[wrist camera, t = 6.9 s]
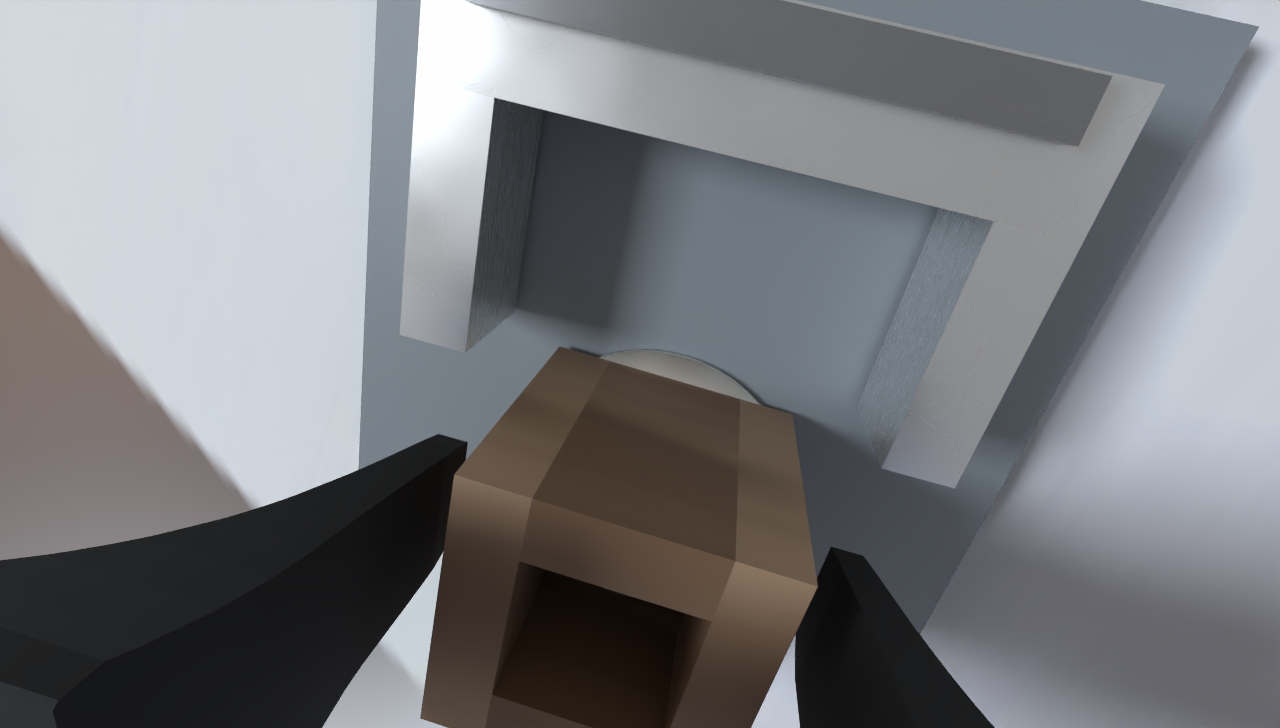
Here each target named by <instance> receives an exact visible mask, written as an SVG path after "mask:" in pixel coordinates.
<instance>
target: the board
mask: <svg viewBox="0 0 1280 728" xmlns="http://www.w3.org/2000/svg"><path fill="white" fill-rule="evenodd" d="M798 1H803V2H807V3H811V4H816V5H820V6H825V7H829V8H833V9H838V10H842V11H846V12H851V13H855V14H860V15H864V16H868V17H873V18H877V19H881V20H886V21H890V22H894V23H899V24H903V25H908V26H912V27H916V28H921V29H925V30H929V31H934V32H938V33H942V34H947V35H951V36H956V37H960V38H964V39H969V40H973V41H977V42H982V43H986V44H991V45H995V46H999V47H1004V48H1008V49H1012V50H1017V51H1021V52H1025V53H1030V54H1034V55H1039V56H1043V57H1047V58H1052V59H1056V60H1060V61H1065V62H1069V63H1073V64H1078V65H1082V66H1087V67H1091V68H1095V69H1100V70H1104V71H1108V72H1113V73H1117V74H1122V75H1126V76H1130V77H1135V78H1139V79H1143V80H1148V81H1152V82H1156V83H1161V84H1165V86H1164V88H1163V90H1162V92H1161V94H1160V96H1159V98H1158V100H1157V102H1156V104H1155V105H1154V107H1153V109H1152V111H1151V113H1150V115H1149V117H1148V119H1147V121H1146V123H1145V125H1144V127H1143V128H1142V130H1141V132H1140V134H1139V136H1138V138H1137V140H1136V142H1135V144H1134V146H1133V148H1132V150H1131V151H1130V153H1129V155H1128V157H1127V159H1126V161H1125V163H1124V165H1123V167H1122V169H1121V171H1120V173H1119V174H1118V176H1117V178H1116V180H1115V182H1114V184H1113V186H1112V188H1111V190H1110V192H1109V194H1108V196H1107V198H1106V199H1105V201H1104V203H1103V205H1102V207H1101V209H1100V211H1099V213H1098V215H1097V217H1096V219H1095V221H1094V222H1093V224H1092V226H1091V228H1090V230H1089V232H1088V234H1087V236H1086V238H1085V240H1084V242H1083V244H1082V245H1081V247H1080V249H1079V251H1078V253H1077V255H1076V257H1075V259H1074V261H1073V263H1072V265H1071V267H1070V268H1069V270H1068V272H1067V274H1066V276H1065V278H1064V280H1063V282H1062V284H1061V286H1060V288H1059V290H1058V291H1057V293H1056V295H1055V297H1054V299H1053V301H1052V303H1051V305H1050V307H1049V309H1048V311H1047V313H1046V314H1045V316H1044V318H1043V320H1042V322H1041V324H1040V326H1039V328H1038V330H1037V332H1036V334H1035V336H1034V338H1033V339H1032V341H1031V343H1030V345H1029V347H1028V349H1027V351H1026V353H1025V355H1024V357H1023V359H1022V361H1021V362H1020V364H1019V366H1018V368H1017V370H1016V372H1015V374H1014V376H1013V378H1012V380H1011V382H1010V384H1009V385H1008V387H1007V389H1006V391H1005V393H1004V395H1003V397H1002V399H1001V401H1000V403H999V405H998V407H997V408H996V410H995V412H994V414H993V416H992V418H991V420H990V422H989V424H988V426H987V428H986V430H985V431H984V433H983V435H982V437H981V439H980V441H979V443H978V445H977V447H976V449H975V451H974V453H973V455H972V456H971V458H970V460H969V462H968V464H967V466H966V468H965V470H964V472H963V474H962V476H961V478H960V479H959V481H958V483H957V485H956V487H955V489H954V488H951V487H947V486H943V485H940V484H936V483H933V482H929V481H925V480H922V479H918V478H915V477H911V476H907V475H904V474H900V473H896V472H893V471H889V470H886V469H882V468H881V466H880V463H879V460H878V458H877V455H876V452H875V450H874V447H873V444H872V442H871V439H870V437H869V434H868V431H867V429H866V426H865V423H864V421H863V418H862V415H861V413H860V410H859V407H858V403H859V400H860V398H861V395H862V393H863V391H864V388H865V386H866V383H867V381H868V379H869V376H870V374H871V371H872V369H873V367H874V364H875V362H876V359H877V357H878V354H879V352H880V350H881V347H882V345H883V342H884V340H885V338H886V335H887V333H888V330H889V328H890V326H891V323H892V321H893V318H894V316H895V314H896V311H897V309H898V306H899V304H900V301H901V299H902V297H903V294H904V292H905V289H906V287H907V285H908V282H909V280H910V277H911V275H912V273H913V270H914V268H915V265H916V263H917V260H918V258H919V256H920V253H921V251H922V248H923V246H924V244H925V241H926V239H927V236H928V234H929V232H930V229H931V227H932V224H933V222H934V220H935V217H936V215H937V212H938V210H939V208H938V207H934V206H930V205H926V204H922V203H918V202H914V201H910V200H906V199H902V198H898V197H894V196H890V195H886V194H882V193H878V192H874V191H869V190H865V189H861V188H857V187H853V186H849V185H845V184H841V183H837V182H833V181H829V180H825V179H821V178H817V177H813V176H809V175H805V174H801V173H797V172H793V171H789V170H785V169H781V168H777V167H773V166H769V165H764V164H760V163H756V162H752V161H748V160H744V159H740V158H736V157H732V156H728V155H724V154H720V153H716V152H712V151H708V150H704V149H700V148H696V147H692V146H688V145H684V144H680V143H676V142H672V141H668V140H664V139H660V138H655V137H651V136H647V135H643V134H639V133H635V132H631V131H627V130H623V129H619V128H615V127H611V126H607V125H603V124H599V123H595V122H591V121H587V120H583V119H579V118H575V117H571V116H567V115H563V114H559V113H555V112H550V111H546V110H544V112H543V119H542V126H541V133H540V140H539V147H538V154H537V161H536V168H535V174H534V181H533V188H532V195H531V202H530V209H529V216H528V223H527V229H526V236H525V243H524V250H523V257H522V264H521V271H520V278H519V285H518V291H517V298H516V305H515V312H514V313H513V314H511V315H510V316H509V317H508V318H507V319H505V320H504V321H503V322H502V323H501V324H499V325H498V326H497V327H496V328H495V329H494V330H492V331H491V332H490V333H489V334H488V335H486V336H485V337H484V338H483V339H482V340H480V341H479V342H478V343H477V344H476V345H474V346H473V347H472V348H471V349H470V350H468V351H467V352H466V353H463V352H460V351H456V350H453V349H449V348H445V347H442V346H438V345H435V344H431V343H427V342H424V341H420V340H417V339H413V338H409V337H406V336H402V335H400V320H401V305H402V289H403V274H404V259H405V243H406V228H407V213H408V197H409V182H410V166H411V151H412V136H413V120H414V105H415V90H416V74H417V59H418V43H419V28H420V13H421V0H377V18H376V43H375V68H374V94H373V119H372V144H371V170H370V195H369V220H368V246H367V271H366V296H365V321H364V347H363V372H362V397H361V423H360V448H359V469H362V468H364V467H366V466H368V465H371V464H373V463H375V462H377V461H379V460H382V459H384V458H386V457H388V456H391V455H393V454H395V453H397V452H399V451H401V450H403V449H406V448H408V447H410V446H412V445H414V444H416V443H419V442H421V441H423V440H425V439H427V438H430V437H432V436H435V435H437V434H441V435H445V436H448V437H451V438H455V439H458V440H462V441H465V442H468V445H467V453H466V460H467V458H468V457H469V456H470V455H471V454H472V452H473V451H474V450H475V449H476V447H477V446H478V445H479V444H480V443H481V441H482V440H483V439H484V438H485V437H486V435H487V434H488V433H489V432H490V430H491V429H492V428H493V427H494V426H495V424H496V423H497V422H498V421H499V420H500V418H501V417H502V416H503V415H504V413H505V412H506V411H507V410H508V409H509V407H510V406H511V405H512V404H513V402H514V401H515V400H516V399H517V398H518V396H519V395H520V394H521V393H522V392H523V390H524V389H525V388H526V387H527V385H528V384H529V383H530V382H531V381H532V379H533V378H534V377H535V376H536V375H537V373H538V372H539V371H540V370H541V368H542V367H543V366H544V365H545V364H546V362H547V361H548V360H549V359H550V357H551V356H552V355H553V354H554V353H555V351H556V350H557V349H558V348H559V347H564V348H567V349H571V350H574V351H577V352H581V353H584V354H588V355H591V356H594V357H597V356H601V355H604V354H607V353H610V352H616V351H622V350H628V349H656V350H666V351H671V352H676V353H681V354H685V355H688V356H691V357H694V358H697V359H700V360H703V361H705V362H707V363H709V364H711V365H713V366H715V367H717V368H719V369H721V370H722V371H724V372H725V373H727V374H729V375H730V376H732V377H733V378H735V379H736V380H737V381H738V382H740V383H741V384H742V385H743V386H744V387H746V388H747V389H748V390H749V391H750V392H751V393H752V394H753V395H754V396H755V397H756V398H757V400H758V401H759V402H760V403H761V404H762V405H763V406H765V407H769V408H772V409H776V410H779V411H783V412H786V413H789V414H792V415H793V421H794V428H795V435H796V442H797V449H798V455H799V462H800V469H801V476H802V483H803V489H804V496H805V503H806V510H807V517H808V523H809V530H810V537H811V544H812V551H813V557H814V564H815V571H816V578H817V577H818V575H819V572H820V570H821V568H822V565H823V563H824V561H825V559H826V556H827V554H828V552H829V550H830V547H835V548H838V549H842V550H845V551H849V552H852V553H856V554H859V555H863V556H864V557H865V559H866V560H867V561H868V563H869V564H870V565H871V567H872V568H873V569H874V571H875V572H876V574H877V575H878V576H879V578H880V579H881V581H882V582H883V584H884V585H885V586H886V588H887V589H888V591H889V592H890V594H891V595H892V596H893V598H894V599H895V601H896V602H897V604H898V605H899V606H900V608H901V609H902V611H903V612H904V613H905V615H906V616H907V618H908V619H909V620H910V622H911V623H912V625H913V626H914V627H915V629H916V630H917V632H918V633H919V634H920V633H921V631H922V629H923V627H924V626H925V624H926V622H927V620H928V618H929V617H930V615H931V613H932V611H933V609H934V608H935V606H936V604H937V602H938V600H939V599H940V597H941V595H942V593H943V592H944V590H945V588H946V586H947V584H948V583H949V581H950V579H951V577H952V575H953V574H954V572H955V570H956V568H957V566H958V565H959V563H960V561H961V559H962V558H963V556H964V554H965V552H966V550H967V549H968V547H969V545H970V543H971V541H972V540H973V538H974V536H975V534H976V532H977V531H978V529H979V527H980V525H981V524H982V522H983V520H984V518H985V516H986V515H987V513H988V511H989V509H990V507H991V506H992V504H993V502H994V500H995V498H996V497H997V495H998V493H999V491H1000V489H1001V488H1002V486H1003V484H1004V482H1005V481H1006V479H1007V477H1008V475H1009V473H1010V472H1011V470H1012V468H1013V466H1014V464H1015V463H1016V461H1017V459H1018V457H1019V455H1020V454H1021V452H1022V450H1023V448H1024V447H1025V445H1026V443H1027V441H1028V439H1029V438H1030V436H1031V434H1032V432H1033V430H1034V429H1035V427H1036V425H1037V423H1038V421H1039V420H1040V418H1041V416H1042V414H1043V413H1044V411H1045V409H1046V407H1047V405H1048V404H1049V402H1050V400H1051V398H1052V396H1053V395H1054V393H1055V391H1056V389H1057V387H1058V386H1059V384H1060V382H1061V380H1062V379H1063V377H1064V375H1065V373H1066V371H1067V370H1068V368H1069V366H1070V364H1071V362H1072V361H1073V359H1074V357H1075V355H1076V353H1077V352H1078V350H1079V348H1080V346H1081V345H1082V343H1083V341H1084V339H1085V337H1086V336H1087V334H1088V332H1089V330H1090V328H1091V327H1092V325H1093V323H1094V321H1095V319H1096V318H1097V316H1098V314H1099V312H1100V311H1101V309H1102V307H1103V305H1104V303H1105V302H1106V300H1107V298H1108V296H1109V294H1110V293H1111V291H1112V289H1113V287H1114V285H1115V284H1116V282H1117V280H1118V278H1119V277H1120V275H1121V273H1122V271H1123V269H1124V268H1125V266H1126V264H1127V262H1128V260H1129V259H1130V257H1131V255H1132V253H1133V251H1134V250H1135V248H1136V246H1137V244H1138V243H1139V241H1140V239H1141V237H1142V235H1143V234H1144V232H1145V230H1146V228H1147V226H1148V225H1149V223H1150V221H1151V219H1152V217H1153V216H1154V214H1155V212H1156V210H1157V209H1158V207H1159V205H1160V203H1161V201H1162V200H1163V198H1164V196H1165V194H1166V192H1167V191H1168V189H1169V187H1170V185H1171V183H1172V182H1173V180H1174V178H1175V176H1176V175H1177V173H1178V171H1179V169H1180V167H1181V166H1182V164H1183V162H1184V160H1185V158H1186V157H1187V155H1188V153H1189V151H1190V149H1191V148H1192V146H1193V144H1194V142H1195V141H1196V139H1197V137H1198V135H1199V133H1200V132H1201V130H1202V128H1203V126H1204V124H1205V123H1206V121H1207V119H1208V117H1209V115H1210V114H1211V112H1212V110H1213V108H1214V107H1215V105H1216V103H1217V101H1218V99H1219V98H1220V96H1221V94H1222V92H1223V90H1224V89H1225V87H1226V85H1227V83H1228V81H1229V80H1230V78H1231V76H1232V74H1233V73H1234V71H1235V69H1236V67H1237V65H1238V64H1239V62H1240V60H1241V58H1242V56H1243V55H1244V53H1245V51H1246V49H1247V47H1248V46H1249V44H1250V42H1251V40H1252V39H1253V37H1254V35H1255V33H1256V31H1257V30H1258V28H1259V27H1258V26H1254V25H1249V24H1245V23H1240V22H1236V21H1231V20H1226V19H1222V18H1217V17H1213V16H1208V15H1204V14H1199V13H1195V12H1190V11H1186V10H1181V9H1177V8H1172V7H1168V6H1163V5H1159V4H1154V3H1149V2H1145V1H1140V0H798Z"/></svg>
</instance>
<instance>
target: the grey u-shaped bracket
mask: <svg viewBox="0 0 1280 728" xmlns="http://www.w3.org/2000/svg"><path fill="white" fill-rule="evenodd" d="M1164 86H1165V84H1161V83H1156V82H1152V81H1148V80H1143V79H1139V78H1135V77H1130V76H1126V75H1122V74H1117V73H1113V72H1108V71H1104V70H1100V69H1095V68H1091V67H1087V66H1082V65H1078V64H1073V63H1069V62H1065V61H1060V60H1056V59H1052V58H1047V57H1043V56H1039V55H1034V54H1030V53H1025V52H1021V51H1017V50H1012V49H1008V48H1004V47H999V46H995V45H991V44H986V43H982V42H977V41H973V40H969V39H964V38H960V37H956V36H951V35H947V34H942V33H938V32H934V31H929V30H925V29H921V28H916V27H912V26H908V25H903V24H899V23H894V22H890V21H886V20H881V19H877V18H873V17H868V16H864V15H860V14H855V13H851V12H846V11H842V10H838V9H833V8H829V7H825V6H820V5H816V4H811V3H807V2H803V1H798V0H421V13H420V28H419V43H418V59H417V74H416V90H415V105H414V120H413V136H412V151H411V166H410V182H409V197H408V213H407V228H406V243H405V259H404V274H403V289H402V305H401V320H400V335H402V336H406V337H409V338H413V339H417V340H420V341H424V342H427V343H431V344H435V345H438V346H442V347H445V348H449V349H453V350H456V351H460V352H463V353H466V352H467V351H468V350H470V349H471V348H472V347H473V346H474V345H476V344H477V343H478V342H479V341H480V340H482V339H483V338H484V337H485V336H486V335H488V334H489V333H490V332H491V331H492V330H494V329H495V328H496V327H497V326H498V325H499V324H501V323H502V322H503V321H504V320H505V319H507V318H508V317H509V316H510V315H511V314H513V313H514V312H515V305H516V298H517V291H518V285H519V278H520V271H521V264H522V257H523V250H524V243H525V236H526V229H527V223H528V216H529V209H530V202H531V195H532V188H533V181H534V174H535V168H536V161H537V154H538V147H539V140H540V133H541V126H542V119H543V112H544V110H546V111H550V112H555V113H559V114H563V115H567V116H571V117H575V118H579V119H583V120H587V121H591V122H595V123H599V124H603V125H607V126H611V127H615V128H619V129H623V130H627V131H631V132H635V133H639V134H643V135H647V136H651V137H655V138H660V139H664V140H668V141H672V142H676V143H680V144H684V145H688V146H692V147H696V148H700V149H704V150H708V151H712V152H716V153H720V154H724V155H728V156H732V157H736V158H740V159H744V160H748V161H752V162H756V163H760V164H764V165H769V166H773V167H777V168H781V169H785V170H789V171H793V172H797V173H801V174H805V175H809V176H813V177H817V178H821V179H825V180H829V181H833V182H837V183H841V184H845V185H849V186H853V187H857V188H861V189H865V190H869V191H874V192H878V193H882V194H886V195H890V196H894V197H898V198H902V199H906V200H910V201H914V202H918V203H922V204H926V205H930V206H934V207H938V208H939V210H938V212H937V215H936V217H935V220H934V222H933V224H932V227H931V229H930V232H929V234H928V236H927V239H926V241H925V244H924V246H923V248H922V251H921V253H920V256H919V258H918V260H917V263H916V265H915V268H914V270H913V273H912V275H911V277H910V280H909V282H908V285H907V287H906V289H905V292H904V294H903V297H902V299H901V301H900V304H899V306H898V309H897V311H896V314H895V316H894V318H893V321H892V323H891V326H890V328H889V330H888V333H887V335H886V338H885V340H884V342H883V345H882V347H881V350H880V352H879V354H878V357H877V359H876V362H875V364H874V367H873V369H872V371H871V374H870V376H869V379H868V381H867V383H866V386H865V388H864V391H863V393H862V395H861V398H860V400H859V403H858V407H859V410H860V413H861V415H862V418H863V421H864V423H865V426H866V429H867V431H868V434H869V437H870V439H871V442H872V444H873V447H874V450H875V452H876V455H877V458H878V460H879V463H880V466H881V468H882V469H886V470H889V471H893V472H896V473H900V474H904V475H907V476H911V477H915V478H918V479H922V480H925V481H929V482H933V483H936V484H940V485H943V486H947V487H951V488H954V489H955V487H956V485H957V483H958V481H959V479H960V478H961V476H962V474H963V472H964V470H965V468H966V466H967V464H968V462H969V460H970V458H971V456H972V455H973V453H974V451H975V449H976V447H977V445H978V443H979V441H980V439H981V437H982V435H983V433H984V431H985V430H986V428H987V426H988V424H989V422H990V420H991V418H992V416H993V414H994V412H995V410H996V408H997V407H998V405H999V403H1000V401H1001V399H1002V397H1003V395H1004V393H1005V391H1006V389H1007V387H1008V385H1009V384H1010V382H1011V380H1012V378H1013V376H1014V374H1015V372H1016V370H1017V368H1018V366H1019V364H1020V362H1021V361H1022V359H1023V357H1024V355H1025V353H1026V351H1027V349H1028V347H1029V345H1030V343H1031V341H1032V339H1033V338H1034V336H1035V334H1036V332H1037V330H1038V328H1039V326H1040V324H1041V322H1042V320H1043V318H1044V316H1045V314H1046V313H1047V311H1048V309H1049V307H1050V305H1051V303H1052V301H1053V299H1054V297H1055V295H1056V293H1057V291H1058V290H1059V288H1060V286H1061V284H1062V282H1063V280H1064V278H1065V276H1066V274H1067V272H1068V270H1069V268H1070V267H1071V265H1072V263H1073V261H1074V259H1075V257H1076V255H1077V253H1078V251H1079V249H1080V247H1081V245H1082V244H1083V242H1084V240H1085V238H1086V236H1087V234H1088V232H1089V230H1090V228H1091V226H1092V224H1093V222H1094V221H1095V219H1096V217H1097V215H1098V213H1099V211H1100V209H1101V207H1102V205H1103V203H1104V201H1105V199H1106V198H1107V196H1108V194H1109V192H1110V190H1111V188H1112V186H1113V184H1114V182H1115V180H1116V178H1117V176H1118V174H1119V173H1120V171H1121V169H1122V167H1123V165H1124V163H1125V161H1126V159H1127V157H1128V155H1129V153H1130V151H1131V150H1132V148H1133V146H1134V144H1135V142H1136V140H1137V138H1138V136H1139V134H1140V132H1141V130H1142V128H1143V127H1144V125H1145V123H1146V121H1147V119H1148V117H1149V115H1150V113H1151V111H1152V109H1153V107H1154V105H1155V104H1156V102H1157V100H1158V98H1159V96H1160V94H1161V92H1162V90H1163V88H1164Z"/></svg>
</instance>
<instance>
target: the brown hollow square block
mask: <svg viewBox="0 0 1280 728" xmlns="http://www.w3.org/2000/svg"><path fill="white" fill-rule="evenodd" d="M817 587H818V585H817V578H816V571H815V564H814V557H813V551H812V544H811V537H810V530H809V523H808V517H807V510H806V503H805V496H804V489H803V483H802V476H801V469H800V462H799V455H798V449H797V442H796V435H795V428H794V421H793V415H792V414H789V413H786V412H783V411H779V410H776V409H772V408H769V407H765V406H762V405H759V404H755V403H752V402H748V401H745V400H742V399H738V398H735V397H731V396H728V395H724V394H721V393H718V392H714V391H711V390H707V389H704V388H700V387H697V386H694V385H690V384H687V383H683V382H680V381H677V380H673V379H670V378H666V377H663V376H659V375H656V374H653V373H649V372H646V371H642V370H639V369H636V368H632V367H629V366H625V365H622V364H618V363H615V362H612V361H608V360H605V359H601V358H598V357H594V356H591V355H588V354H584V353H581V352H577V351H574V350H571V349H567V348H564V347H559V348H558V349H557V350H556V351H555V353H554V354H553V355H552V356H551V357H550V359H549V360H548V361H547V362H546V364H545V365H544V366H543V367H542V368H541V370H540V371H539V372H538V373H537V375H536V376H535V377H534V378H533V379H532V381H531V382H530V383H529V384H528V385H527V387H526V388H525V389H524V390H523V392H522V393H521V394H520V395H519V396H518V398H517V399H516V400H515V401H514V402H513V404H512V405H511V406H510V407H509V409H508V410H507V411H506V412H505V413H504V415H503V416H502V417H501V418H500V420H499V421H498V422H497V423H496V424H495V426H494V427H493V428H492V429H491V430H490V432H489V433H488V434H487V435H486V437H485V438H484V439H483V440H482V441H481V443H480V444H479V445H478V446H477V447H476V449H475V450H474V451H473V452H472V454H471V455H470V456H469V457H468V458H467V460H466V461H465V462H464V463H463V464H462V466H461V467H460V468H459V469H458V471H457V472H456V473H455V474H454V480H453V487H452V494H451V501H450V508H449V516H448V523H447V530H446V537H445V544H444V552H443V559H442V566H441V573H440V580H439V588H438V595H437V602H436V609H435V617H434V624H433V631H432V638H431V645H430V653H429V660H428V667H427V674H426V681H425V689H424V696H423V704H422V710H421V717H420V718H421V719H424V720H427V721H430V722H433V723H436V724H439V725H442V726H445V727H448V728H751V726H752V724H753V722H754V720H755V718H756V716H757V714H758V712H759V710H760V707H761V705H762V703H763V701H764V699H765V697H766V695H767V693H768V691H769V688H770V686H771V684H772V682H773V680H774V678H775V676H776V674H777V672H778V670H779V667H780V665H781V663H782V661H783V659H784V657H785V655H786V653H787V651H788V648H789V646H790V644H791V642H792V640H793V638H794V636H795V634H796V632H797V629H798V627H799V625H800V623H801V621H802V619H803V617H804V615H805V613H806V611H807V608H808V606H809V604H810V602H811V600H812V598H813V596H814V594H815V592H816V589H817ZM604 588H606V589H609V590H612V591H616V592H619V593H622V594H625V595H628V596H631V597H626V596H621V595H617V594H615V593H612V592H610V591H608V590H606V589H604Z"/></svg>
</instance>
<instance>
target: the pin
mask: <svg viewBox="0 0 1280 728" xmlns="http://www.w3.org/2000/svg"><path fill="white" fill-rule="evenodd" d="M597 357H598V358H601V359H605V360H608V361H612V362H615V363H618V364H622V365H625V366H629V367H632V368H636V369H639V370H642V371H646V372H649V373H653V374H656V375H659V376H663V377H666V378H670V379H673V380H677V381H680V382H683V383H687V384H690V385H694V386H697V387H700V388H704V389H707V390H711V391H714V392H718V393H721V394H724V395H728V396H731V397H735V398H738V399H742V400H745V401H748V402H752V403H755V404H759V405H762V404H761V403H760V402H759V401H758V400H757V398H756V397H755V396H754V395H753V394H752V393H751V392H750V391H749V390H748V389H747V388H746V387H744V386H743V385H742V384H741V383H740V382H738V381H737V380H736V379H735V378H733V377H732V376H730V375H729V374H727V373H725V372H724V371H722V370H721V369H719V368H717V367H715V366H713V365H711V364H709V363H707V362H705V361H703V360H700V359H697V358H694V357H691V356H688V355H685V354H681V353H676V352H671V351H666V350H656V349H628V350H622V351H616V352H610V353H607V354H604V355H601V356H597ZM762 406H763V405H762ZM604 589H606V588H604ZM606 590H608V591H610V592H612V593H615V594H617V595H621V596H626V597H631V596H628V595H625V594H622V593H619V592H616V591H612V590H609V589H606Z"/></svg>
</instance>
